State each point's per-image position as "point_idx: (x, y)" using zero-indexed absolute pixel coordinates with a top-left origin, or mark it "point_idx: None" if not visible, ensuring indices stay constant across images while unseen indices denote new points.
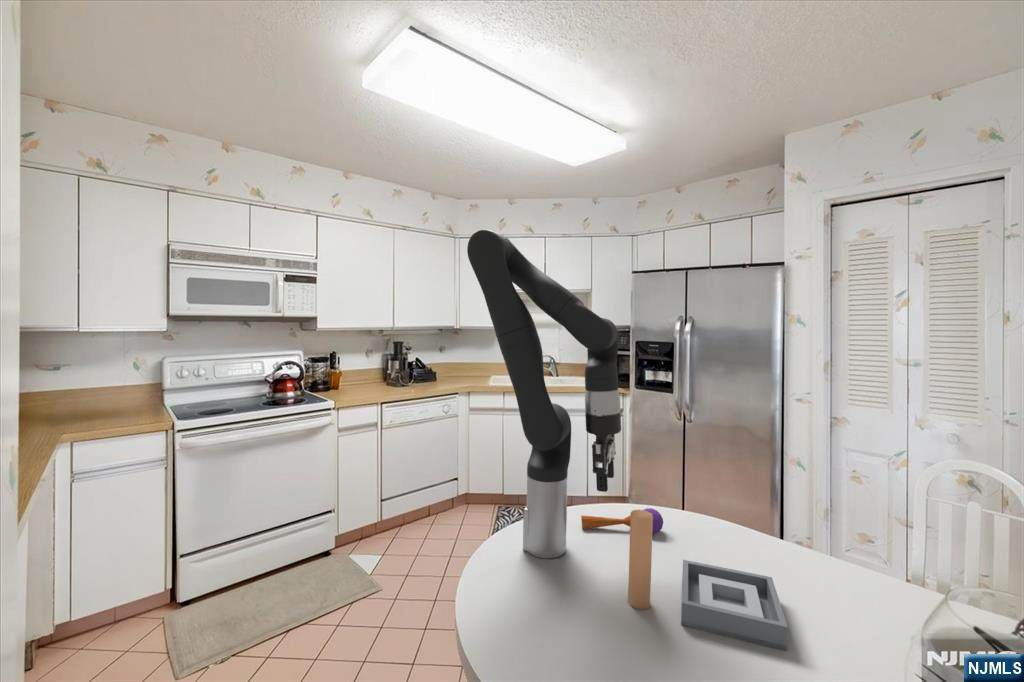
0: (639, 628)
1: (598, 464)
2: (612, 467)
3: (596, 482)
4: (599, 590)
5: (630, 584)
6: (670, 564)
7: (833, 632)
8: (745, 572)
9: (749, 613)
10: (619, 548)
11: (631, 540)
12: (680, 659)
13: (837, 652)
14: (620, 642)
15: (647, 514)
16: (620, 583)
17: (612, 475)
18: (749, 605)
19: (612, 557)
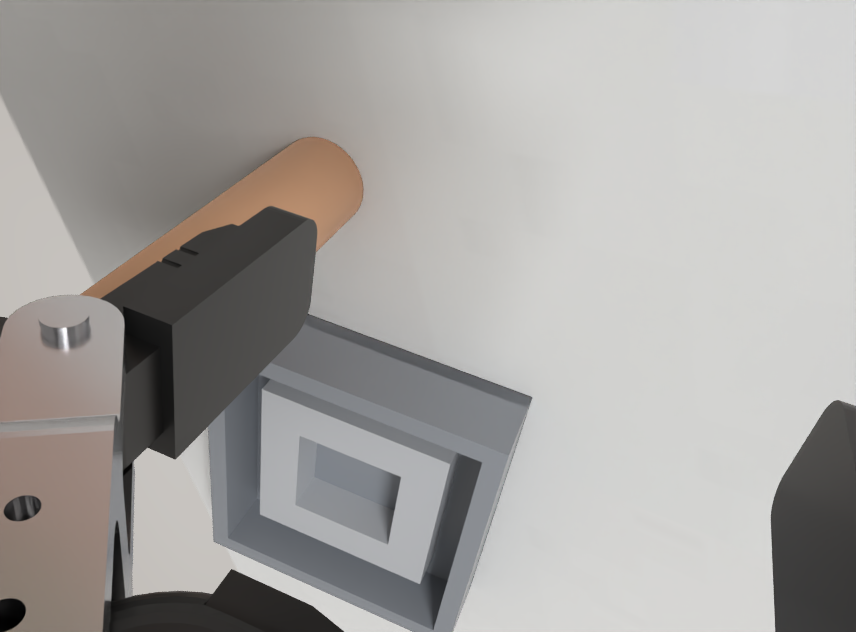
0: (181, 151)
1: (121, 448)
2: (784, 619)
3: (215, 242)
4: (355, 6)
5: (246, 176)
6: (647, 394)
7: (354, 616)
8: (456, 600)
9: (268, 494)
10: (831, 179)
11: (96, 284)
12: (110, 241)
13: (286, 578)
14: (90, 69)
15: None
16: (439, 124)
17: (782, 512)
18: (306, 514)
19: (705, 116)
